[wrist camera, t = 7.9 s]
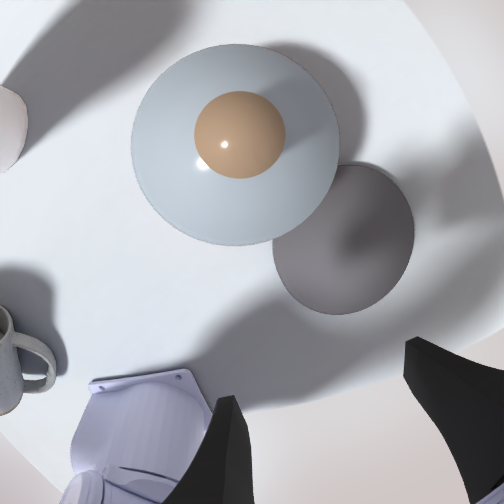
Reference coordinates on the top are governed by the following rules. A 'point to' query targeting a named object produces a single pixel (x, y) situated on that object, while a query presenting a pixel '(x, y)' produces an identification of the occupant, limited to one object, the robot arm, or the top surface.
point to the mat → (348, 244)
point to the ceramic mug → (8, 367)
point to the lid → (235, 145)
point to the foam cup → (11, 127)
